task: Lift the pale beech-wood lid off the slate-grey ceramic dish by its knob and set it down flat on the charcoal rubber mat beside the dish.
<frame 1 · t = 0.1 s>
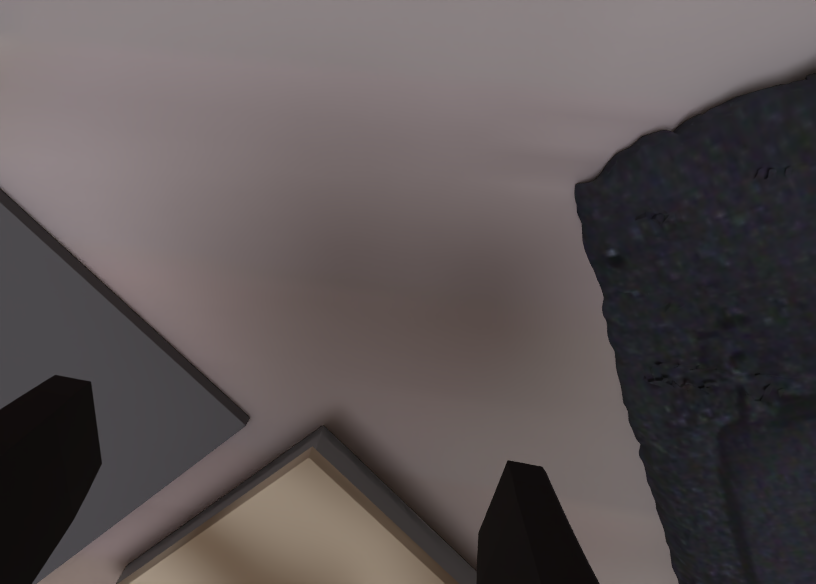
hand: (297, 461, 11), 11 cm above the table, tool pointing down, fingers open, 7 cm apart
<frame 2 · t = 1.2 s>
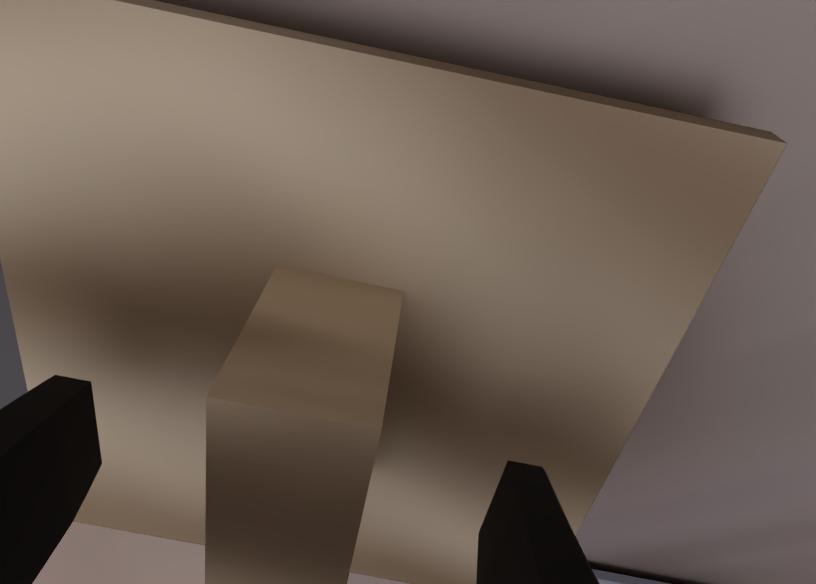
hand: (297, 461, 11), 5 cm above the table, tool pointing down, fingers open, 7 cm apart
lid: (330, 361, 13), point 2 cm above the table, touching dish
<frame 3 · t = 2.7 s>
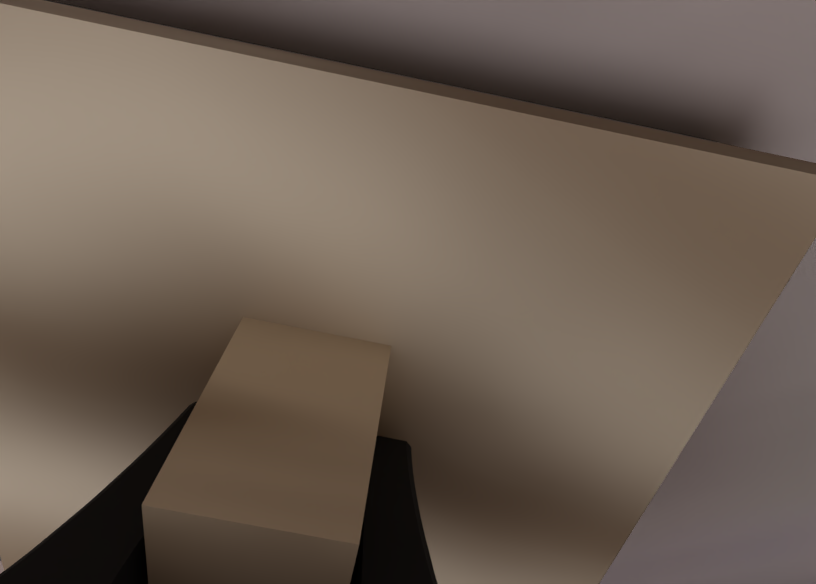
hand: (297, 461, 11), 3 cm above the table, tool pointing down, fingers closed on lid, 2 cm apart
dish: (331, 346, 13), on the table
lid: (310, 416, 11), point 2 cm above the table, touching dish, gripper
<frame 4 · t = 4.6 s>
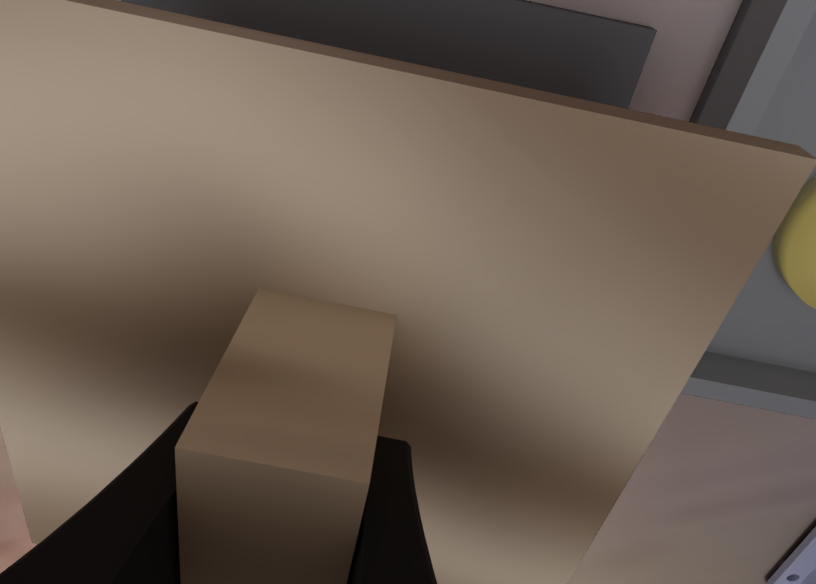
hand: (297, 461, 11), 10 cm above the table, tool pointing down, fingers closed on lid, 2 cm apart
mat: (356, 212, 19), on the table
lid: (320, 384, 12), point 8 cm above the table, touching gripper
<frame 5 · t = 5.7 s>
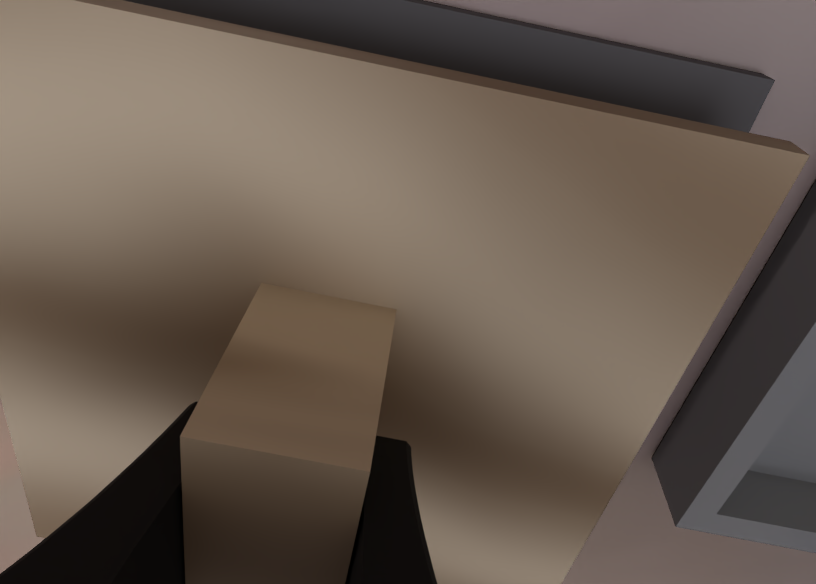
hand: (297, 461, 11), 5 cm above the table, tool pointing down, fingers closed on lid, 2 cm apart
mat: (344, 306, 15), on the table
lid: (321, 379, 12), point 3 cm above the table, touching gripper
when the fingers open (3 cm above the table, at t = 6.7 s): lid stays where it is, resting on mat.
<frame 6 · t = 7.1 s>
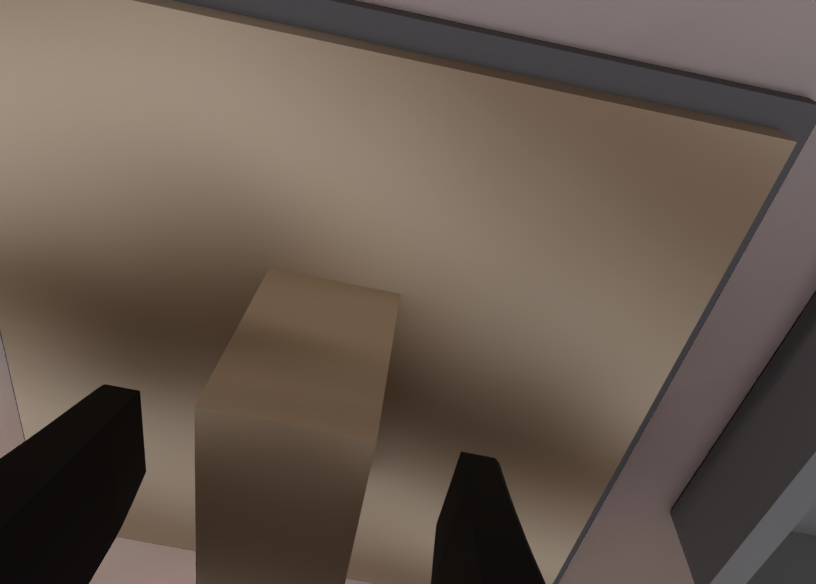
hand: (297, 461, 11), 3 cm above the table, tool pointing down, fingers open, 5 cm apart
mat: (329, 351, 13), on the table
lid: (326, 365, 13), resting on mat
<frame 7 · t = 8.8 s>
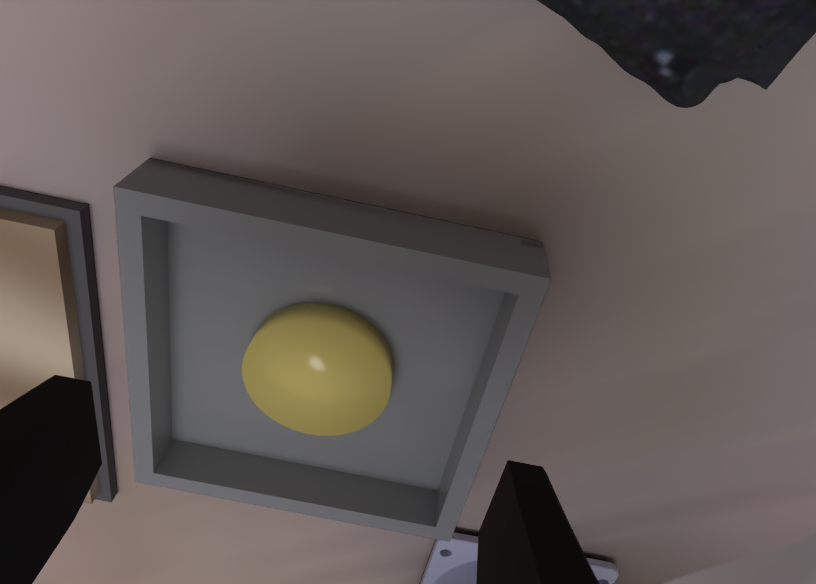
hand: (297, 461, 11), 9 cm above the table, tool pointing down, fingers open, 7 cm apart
dish: (324, 353, 21), on the table
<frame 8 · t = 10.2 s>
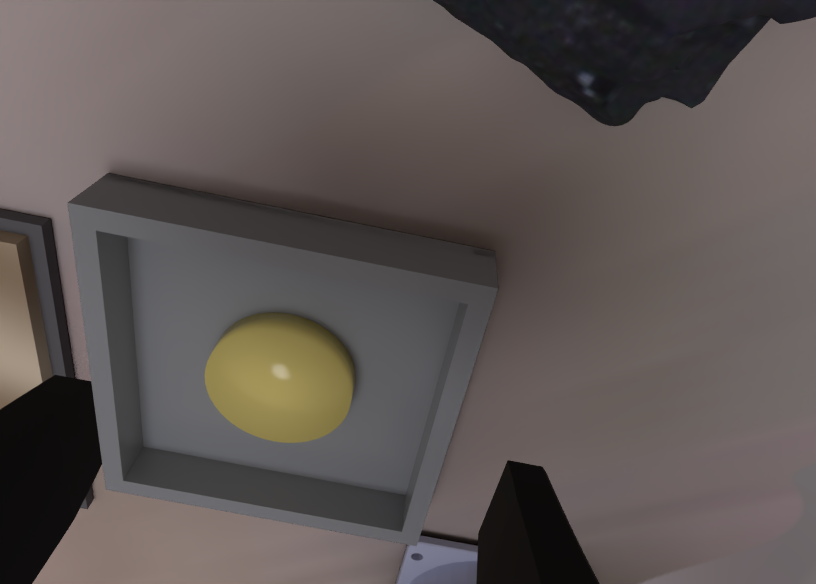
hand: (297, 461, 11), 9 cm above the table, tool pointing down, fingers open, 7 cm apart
dish: (288, 362, 22), on the table
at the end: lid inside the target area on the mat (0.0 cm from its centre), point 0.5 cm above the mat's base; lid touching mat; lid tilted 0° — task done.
